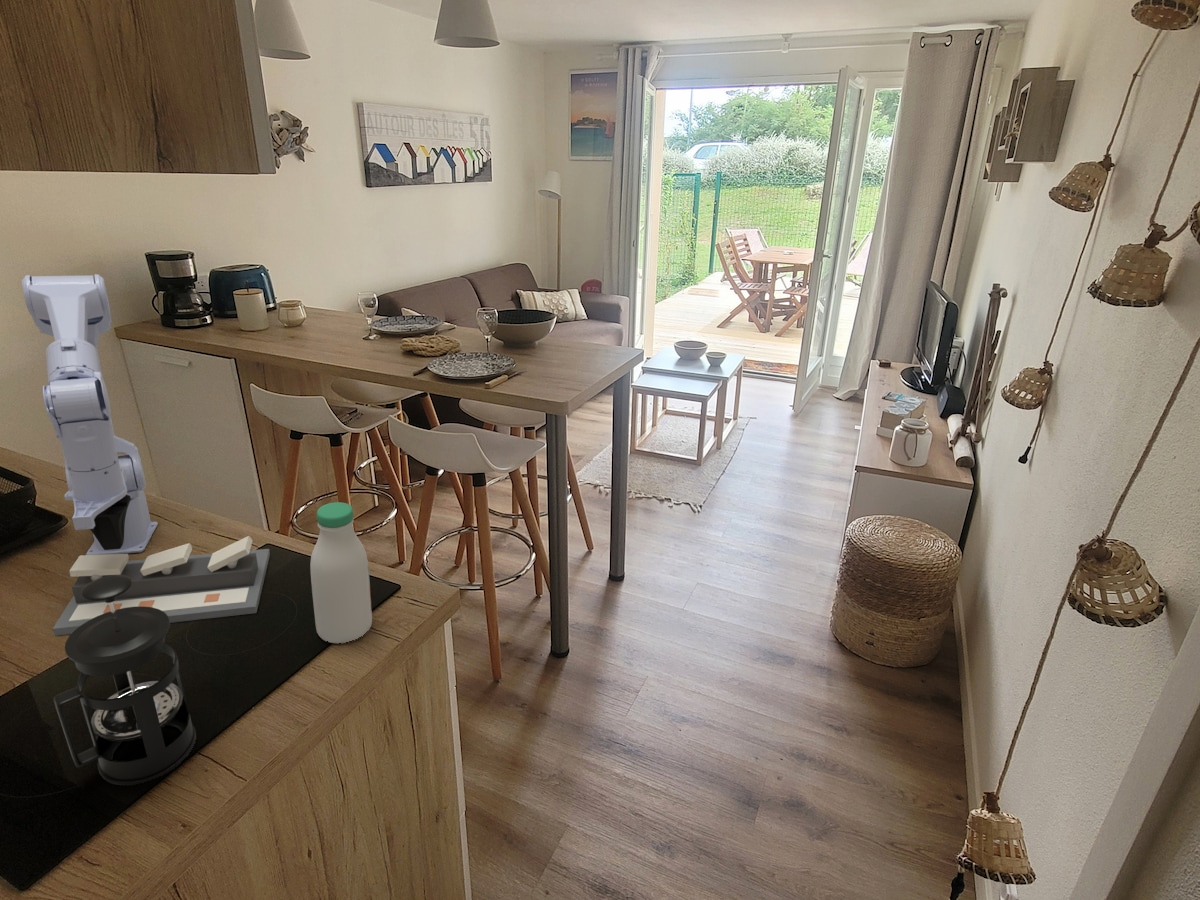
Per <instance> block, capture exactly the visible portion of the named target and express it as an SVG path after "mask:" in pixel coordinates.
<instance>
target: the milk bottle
mask: <svg viewBox="0 0 1200 900" xmlns="http://www.w3.org/2000/svg"><path fill="white" fill-rule="evenodd" d="M316 520H317V527H318V528H319V534H318V538H317V541H316V543H315V545H314V548H313V549H312V553H311V556H310V566H309V568H310V570H309V571H310V582H311V593H312V602H313V603H312V604H313V612H314V623H315V629H316V634H318V636H319V637H320V638H321V640H323V641H324V642H327V641H328V642H327V643H331V644H339V643H341V644H347V643H346V642H348V643H350V642H349V641H352V640H354V641H356V640H355V639H357V640H359V639H360V638H359V637H361V636H362V637H364V636H365V635H366V634H367V633H368V632H369V630H370V629H371V627H372V624H373V612H372V596H371V595H372V594H371V583H370V569H369V561H368V556H367V551H366V549H365V547H364V545H363V544H362V541H361V540H360V539H359V538H358V536H357V533H356V532H355V530H354V527H353V524H354V522H355V520H354V510H353V507H352V506H351V505H350V504H349V503H346V502H341V501H340V502H339V501H338V502H335V501H334V502H329V503H327V504H324V505H321V506H320V507H319V508H318V509H317V511H316ZM367 631H368V632H367ZM366 632H367V633H366ZM365 633H366V634H365ZM364 634H365V635H364ZM363 635H364V636H363ZM362 637H361V638H362ZM358 638H359V639H358ZM352 642H353V641H352Z"/></svg>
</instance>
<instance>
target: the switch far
mask: <svg viewBox="0 0 1200 900" xmlns="http://www.w3.org/2000/svg"><path fill="white" fill-rule="evenodd" d="M253 540H254V539H252V537H251V536H250V535H248V536H245V537H243V538H241V539H239V540H237V541H235V542H232V543H231V544H229V545H227V546H225V547H222V548H221V549H218V550H217V551H214V552H213V553H211V554H212V556H211V559H210V562H209V564H208V567H207V568H208V569H209V570H210V571H211V572H213V571H215V570H217V569H219V568H221V567H223V566H225V565H227V566H228V567H229V568H235V567H236V565H237V561H238V559H240V558H242V557H244V556H246V555H248V554H249V552H250V550H251V548H252V544H253Z"/></svg>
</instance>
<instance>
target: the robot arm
mask: <svg viewBox="0 0 1200 900" xmlns="http://www.w3.org/2000/svg"><path fill="white" fill-rule="evenodd" d="M21 288H22V292H23V297H24V302H25V304H26V305H25V306H26V308H27V311H28V313H29V315H30V316H31V317H32V320H33V323H34V325H35V327H37V328H38V330H39V332H40V333H41V334H45V335H47V336H51V337H53V338H54V341H53V342H51V343H50V344H49V345H48V346H47V347H46V349H45V360H46V362H45V363H46V373H47V385H45V384H44V385H42V397H43V398H42V399H43V404H44V409H45V411H46V415H47V417H48V418H49V421H50V422H51V425H52V427H53V430H54V434H55V437H56V439H59V442H60V447H61V449H62V454H63V457H64V458H63V459H64V466H65V468H64V470H65V471H64V472H65V478H66V483H67V488H68V491H66V492H65V494H63V497H64V500H65V501H73V508H74V513H73V516H72V517H71V519H72V523H73V527H74V529H75V531H81V530H90V532H91V534H92V536H93V540H94V541H93V542H92V544H91V546H90V547H89V548H88V550H87V552H86V554H85V555H108V554H133V553H143V552H144V551H145V550H146V548H147V547H146V546H147V545H148V544H149V542H150V540H151V538H152V536H153V534H154V531H155V530H156V528H157V526H158V525H159V524H158V521H151V516H150V512H149V507H148V501H147V497H146V494H145V492H144V489H145V488H146V486H147V485H146V478H145V473H144V467H143V464H142V460H141V456H140V453H139V449H138V447H137V446H136V445H135V443H133V442H131V441H129V440H127V439H125V438H122V437H119V436H117V435H116V433H115V430H114V425H113V419H112V415H111V414H112V408H111V402H110V395H109V392H108V388H107V385H106V383H105V380H104V374H103V370H102V366H101V365H102V364H101V359H100V355H99V351H98V349H99V342H100V335H102V334H104V333H106V332H108V331H109V330H111V329H112V325H111V324H112V322H113V321H112V316H111V315H112V314H111V308H110V307H111V306H110V302H109V296H108V292H107V288H106V283H105V278H104V277H102V276H101V275H100V274H98V273H97V274H96V273H95V274H94V275H40V276H39V275H34V276H33V275H32V276H31V275H30V274H26V275H25V276H24V277H23V278H22V279H21ZM119 454H123V455H120V456H119ZM124 454H125V455H124Z"/></svg>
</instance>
